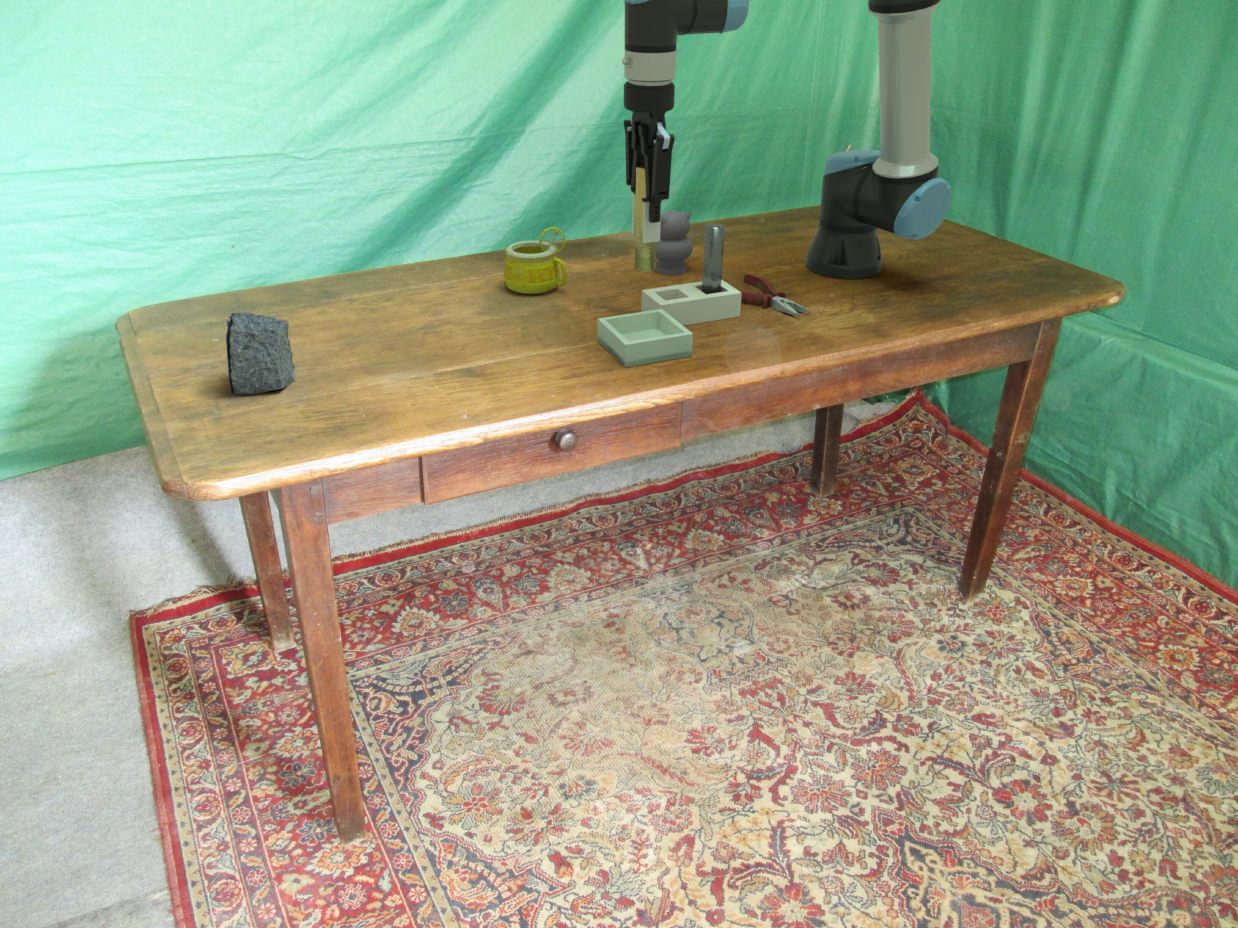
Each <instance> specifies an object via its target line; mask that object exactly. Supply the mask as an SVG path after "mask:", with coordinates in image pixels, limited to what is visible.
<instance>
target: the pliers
mask: <svg viewBox="0 0 1238 928" xmlns="http://www.w3.org/2000/svg"><path fill="white" fill-rule="evenodd" d="M743 283H744V284H747V285H749V286H752V287H754V288H757V289H759V290H760V291H762V293H760V292H752V291H747V290H746V291H745V290H739V289H737V290H738V291H740V292H741V293H742V296H741V304H745V305H751V306H752V305H753V306H759V307H762V309H763V310H766V309H767V308H772V309H774V310H776V311H779V312H782V313H786V314H788V315H792V316H796V317H799V318H801V314H800V313H806V314H807V313H808V314H809V313H811V310H810V309H808V308H806V307H804V306H802V305H800V304H798V303H797V302H795V301H793V300H790V299H788V298H786V293H785V291H782V290H781V291H779V290H778V291H777V290H775V289H774V288H773V286H772V285H771V284H770V283H769V282H768V281H767V280H766V279H764V278H762V277H759V276H757V275H754V274H750V273H747V274H745V275H744V276H743Z"/></svg>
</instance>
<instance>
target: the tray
mask: <svg viewBox="0 0 1238 928" xmlns="http://www.w3.org/2000/svg"><path fill="white" fill-rule="evenodd" d="M693 335H694V333H693V332H692V331H690V330H689V329H688V328H687V327H686V326H685V325H684V326H683V325H681V324H680V323H679V322H678V321H676V320H675V319H674V318H673V317H671V316H670V315H669V314H668V313H666V312H665V311H664V310H663V309H657V310H651V311H644V312H641V311H638V312H632V313H626V314H618V315H614V316H607V317H600V318H597V341H598V343H600V344H601V346H603V348H605V350H607V351H608V352H609V353H610V354H611V356H613V357H614V358H615V359H616V360H617V361H618V362H619V363H620V364H621V365H622V366H623V367H624V368H625V369H626V368H633V367H638V366H643V365H649V364H654V363H655V364H656V363H661V362H666V361H672V360H673V361H674V360H677V359H683V358H684V359H685V358H690V357H692V356H693V346H694V345H693V342H694V341H693V339H694V336H693Z"/></svg>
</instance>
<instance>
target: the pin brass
mask: <svg viewBox="0 0 1238 928" xmlns="http://www.w3.org/2000/svg"><path fill="white" fill-rule="evenodd" d="M642 198H646V183H645V165H639V166H637V167H636V204H635V236H634V260H633V261H634V264H633V265H634V270H635V271H638V272H641V273H642V272H643V273H644V272H645V273H649V272H653V271H656V262H657V261H656V260H657V258H656V242H649V243H643V242H642V236H643V201H642Z"/></svg>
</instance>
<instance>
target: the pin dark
mask: <svg viewBox="0 0 1238 928" xmlns="http://www.w3.org/2000/svg"><path fill="white" fill-rule="evenodd" d="M725 228H726V226H725V224H722V223H718V222H710V223H706V224H705V227H704V240H703V241H704V242H703V247H704V248H703V260H702V261H703V263H702V281H701V282H702V292H703V293H705V294H712V293H719V292H721V279H722V280H723V278H722V277H723V261H724V259H723V258H724V246H725Z"/></svg>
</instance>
